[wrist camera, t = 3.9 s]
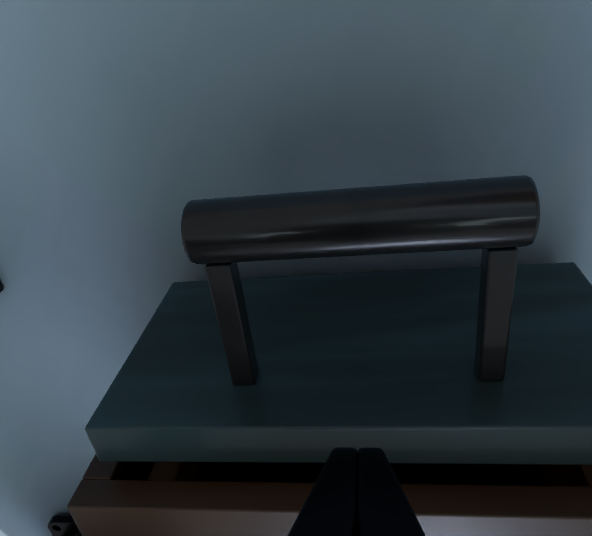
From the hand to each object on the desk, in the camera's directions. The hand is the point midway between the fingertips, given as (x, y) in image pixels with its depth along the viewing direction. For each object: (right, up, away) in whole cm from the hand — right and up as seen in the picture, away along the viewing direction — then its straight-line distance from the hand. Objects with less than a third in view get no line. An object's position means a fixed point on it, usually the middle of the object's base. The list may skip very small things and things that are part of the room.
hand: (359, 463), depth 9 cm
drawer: (+2, -1, +11) cm, 11 cm away
